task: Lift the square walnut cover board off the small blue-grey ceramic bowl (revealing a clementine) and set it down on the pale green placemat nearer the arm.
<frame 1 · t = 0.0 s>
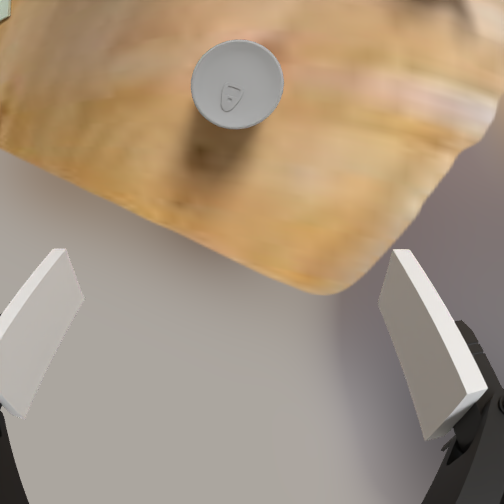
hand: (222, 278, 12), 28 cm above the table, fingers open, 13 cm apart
canned food: (242, 80, 32), on the table
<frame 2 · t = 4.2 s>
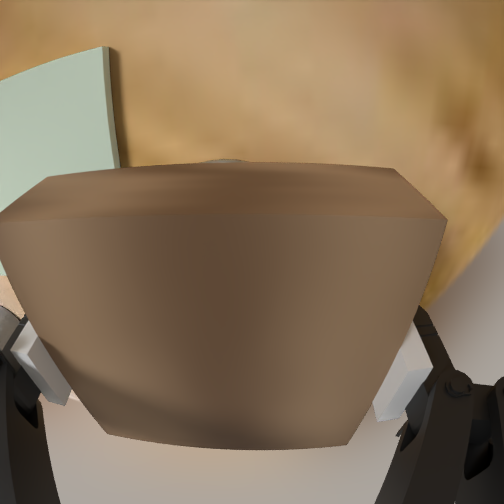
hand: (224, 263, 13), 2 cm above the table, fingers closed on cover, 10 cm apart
cover: (217, 310, 11), point 5 cm above the table, touching bowl, gripper
mat: (29, 182, 13), on the table
grey cylinder: (9, 323, 19), on the table
when the fingers open (1 cm above the table, at t = 10.0 s): cover drops 3 cm, resting on mat.
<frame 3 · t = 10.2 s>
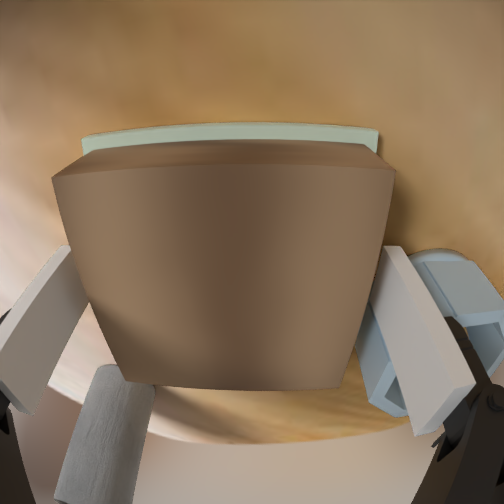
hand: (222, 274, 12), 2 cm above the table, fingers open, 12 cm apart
cover: (227, 260, 13), point 1 cm above the table, touching mat
mat: (229, 252, 14), on the table
grey cylinder: (126, 381, 20), on the table
bowl: (419, 307, 15), on the table
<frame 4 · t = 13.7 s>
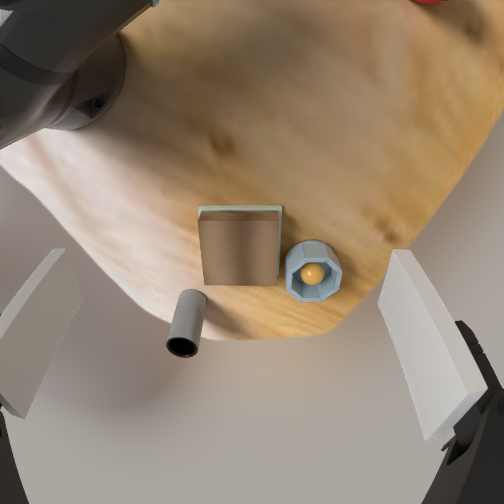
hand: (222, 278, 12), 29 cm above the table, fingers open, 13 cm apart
cover: (240, 243, 44), point 1 cm above the table, touching mat
mat: (240, 241, 45), on the table
grey cylinder: (193, 298, 51), on the table
bowl: (309, 261, 46), on the table
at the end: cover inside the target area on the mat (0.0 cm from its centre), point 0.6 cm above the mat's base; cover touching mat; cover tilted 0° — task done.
